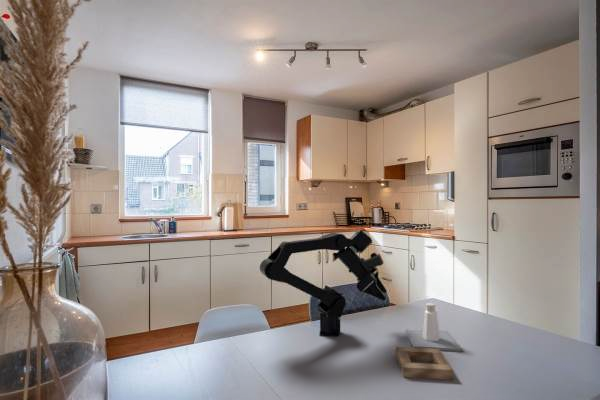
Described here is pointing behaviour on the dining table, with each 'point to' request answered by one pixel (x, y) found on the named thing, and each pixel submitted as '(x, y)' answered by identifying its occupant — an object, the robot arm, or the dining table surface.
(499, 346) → the dining table surface
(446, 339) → the slate grey mat
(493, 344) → the dining table surface
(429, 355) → the walnut collar
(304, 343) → the dining table surface
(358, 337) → the dining table surface
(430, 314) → the pepper shaker
